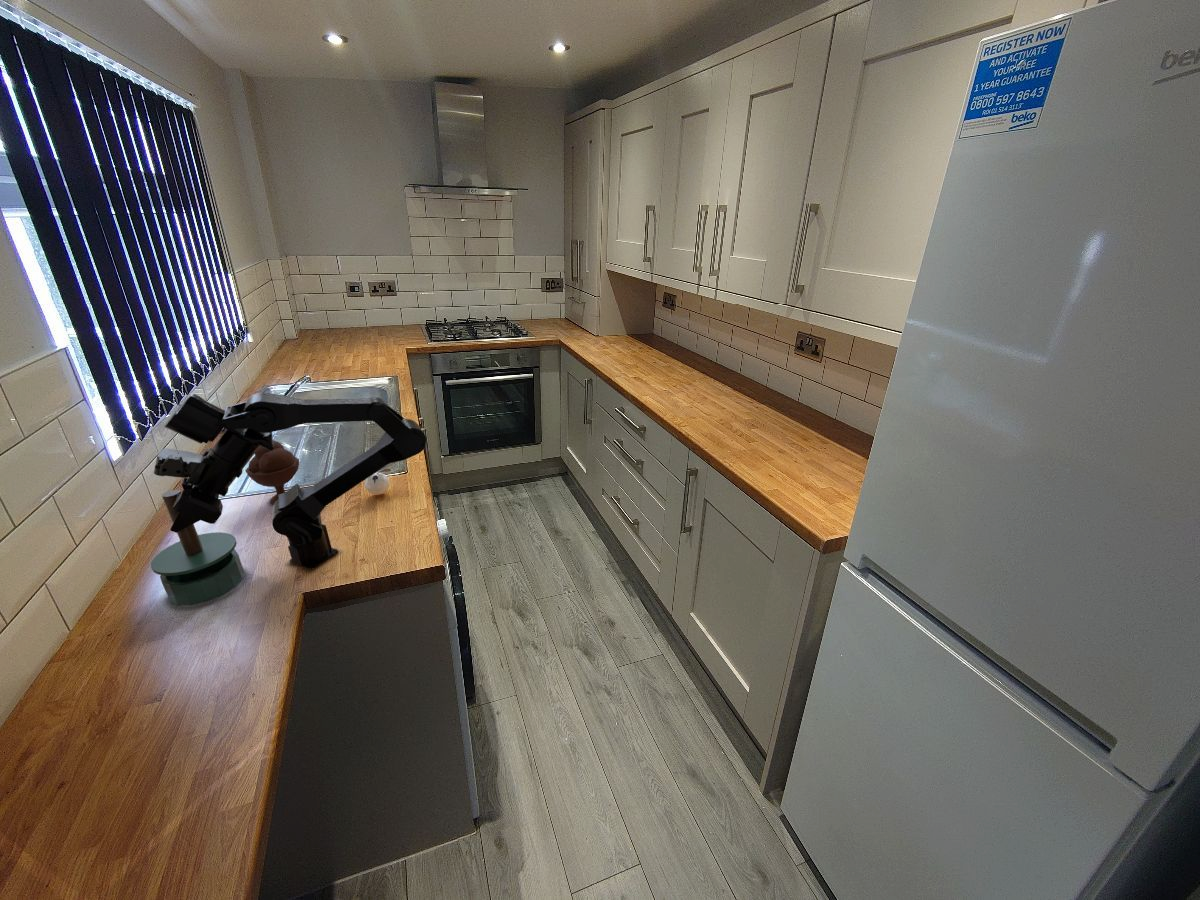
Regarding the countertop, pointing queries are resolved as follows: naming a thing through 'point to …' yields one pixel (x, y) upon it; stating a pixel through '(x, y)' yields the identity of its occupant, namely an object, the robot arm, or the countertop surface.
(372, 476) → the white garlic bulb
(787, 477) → the countertop surface
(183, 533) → the lid
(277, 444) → the ice cream bowl
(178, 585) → the tin
